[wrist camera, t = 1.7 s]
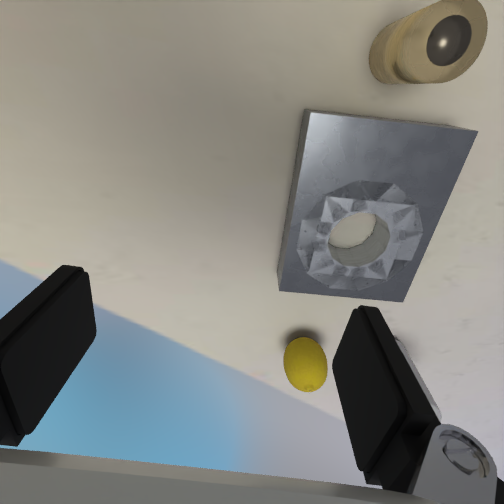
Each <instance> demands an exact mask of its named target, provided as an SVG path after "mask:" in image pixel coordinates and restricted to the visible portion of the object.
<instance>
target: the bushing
mask: <svg viewBox="0 0 504 504" xmlns="http://www.w3.org/2000/svg"><path fill="white" fill-rule="evenodd" d="M486 35H487V16H486V12H485V10H484V8H483V6H482V5H481V4H480V2H479V1H478V0H440V1H438V2H436V3H434V4H432V5H430V6H428V7H426V8H423V9H421V10H419V11H417V12H415V13H413V14H411V15H408V16H406V17H404V18H402V19H400V20H398V21H396V22H394V23H391V24H390V25H388V26H386V27H385V28H384V29H383V30H382V31H381V32H380V33H379V34H378V35H377V37H376V38H375V40H374V42H373V44H372V46H371V50H370V54H369V65H370V69H371V72H372V74H373V75H374V77H375V78H376V79H377V80H379V81H380V82H382V83H386V84H421V83H444V82H448V81H450V80H453V79H455V78H457V77H458V76H460V75H461V74H463V73H464V72H465V71H466V70H467V69H468V68H469V67H470V66H471V65H472V64H473V63H474V62H475V60H476V59H477V57H478V56H479V54H480V52H481V50H482V48H483V46H484V43H485V40H486Z"/></svg>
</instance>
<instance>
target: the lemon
mask: <svg viewBox="0 0 504 504" xmlns="http://www.w3.org/2000/svg"><path fill="white" fill-rule="evenodd" d="M284 369H285V373H286V375H287V378H288V380H289V381H290V383H291V384H292V385H293V386H294V387H295V388H297V389H298V390H300V391H303V392H313V391H316V390H317V389H319V388H320V387H321V386H322V385H323V384H324V382H325V380H326V377H327V370H328V368H327V359H326V356H325V353H324V351H323V349H322V348H321V346H320V345H319V344H318V343H317V342H316V341H314V340H312V339H310V338H306V337H301V338H297V339H295V340H293V341H292V342H290V343H289V345H288V346H287V347H286V350H285V353H284Z"/></svg>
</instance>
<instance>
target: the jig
mask: <svg viewBox="0 0 504 504" xmlns="http://www.w3.org/2000/svg"><path fill="white" fill-rule="evenodd" d="M477 133H478V131H475V130H470V129H465V128H460V127H455V126H450V125H441V124H432V123H423V122H414V121H406V120H397V119H388V118H379V117H370V116H361V115H352V114H343V113H335V112H326V111H317V110H308V109H304V114H303V120H302V126H301V132H300V138H299V144H298V149H297V155H296V161H295V167H294V173H293V179H292V185H291V191H290V197H289V203H288V209H287V215H286V221H285V227H284V233H283V239H282V245H281V251H280V257H279V263H278V269H277V276H278V286H279V291H285V292H296V293H307V294H318V295H329V296H340V297H350V298H361V299H372V300H383V301H394V302H403V301H404V299H405V296H406V294H407V292H408V290H409V287H410V285H411V283H412V281H413V278H414V276H415V274H416V272H417V269H418V267H419V265H420V262H421V260H422V258H423V256H424V253H425V251H426V249H427V247H428V244H429V242H430V240H431V238H432V235H433V233H434V231H435V228H436V226H437V224H438V222H439V219H440V217H441V215H442V213H443V210H444V208H445V206H446V204H447V201H448V199H449V197H450V194H451V192H452V190H453V188H454V185H455V183H456V181H457V179H458V176H459V174H460V172H461V170H462V167H463V165H464V163H465V160H466V158H467V156H468V154H469V151H470V149H471V147H472V145H473V142H474V140H475V138H476V136H477ZM358 212H363V213H373V214H375V217H376V220H377V221H376V224H375V227H374V230H373V233H372V235H371V236H369V237H368V238H367V239H366V240H365V241H364V242H363V243H362V244H360V245H357V246H355V247H352V248H349V249H345V248H335V247H333V246H332V245H330V244H329V243H328V240H329V236H330V232H331V230H332V229H333V228H334V227H335V226H336V225H337V224H338V223H339V222H340V221H341V219H342V218H345V217H348V216H350V215H353V214H355V213H358Z"/></svg>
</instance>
